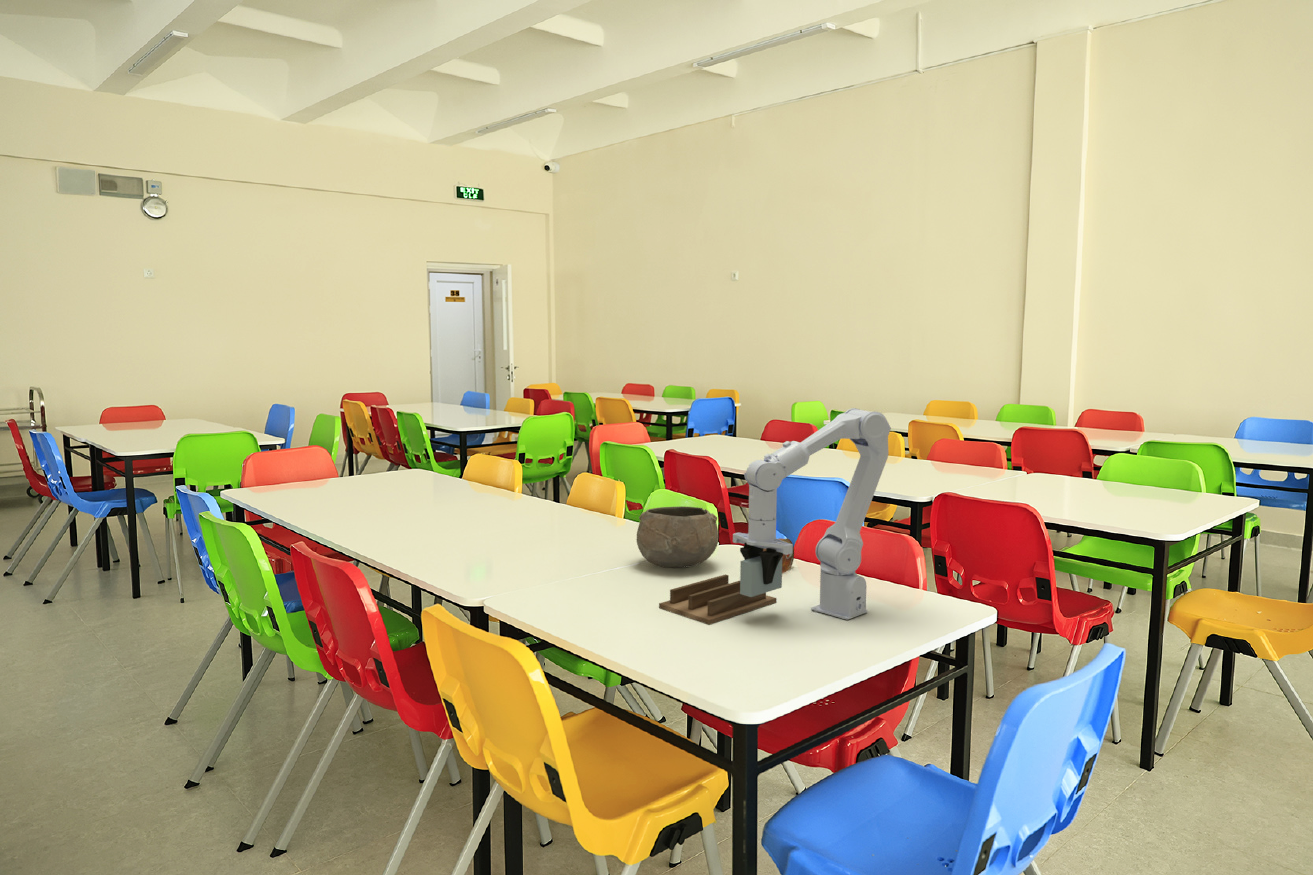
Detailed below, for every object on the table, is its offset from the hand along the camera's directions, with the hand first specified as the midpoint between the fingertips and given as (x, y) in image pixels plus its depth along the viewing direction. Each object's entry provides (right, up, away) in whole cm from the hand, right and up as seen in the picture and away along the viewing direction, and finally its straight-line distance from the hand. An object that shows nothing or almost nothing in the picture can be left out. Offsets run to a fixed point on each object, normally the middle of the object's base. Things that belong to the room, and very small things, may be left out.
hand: (761, 581), depth 178 cm
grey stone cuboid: (0, -2, 0) cm, 2 cm away
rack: (-8, -7, +10) cm, 14 cm away
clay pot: (-17, -3, +41) cm, 45 cm away
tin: (+8, -4, +36) cm, 37 cm away
